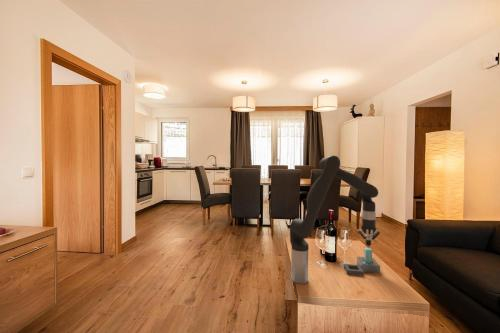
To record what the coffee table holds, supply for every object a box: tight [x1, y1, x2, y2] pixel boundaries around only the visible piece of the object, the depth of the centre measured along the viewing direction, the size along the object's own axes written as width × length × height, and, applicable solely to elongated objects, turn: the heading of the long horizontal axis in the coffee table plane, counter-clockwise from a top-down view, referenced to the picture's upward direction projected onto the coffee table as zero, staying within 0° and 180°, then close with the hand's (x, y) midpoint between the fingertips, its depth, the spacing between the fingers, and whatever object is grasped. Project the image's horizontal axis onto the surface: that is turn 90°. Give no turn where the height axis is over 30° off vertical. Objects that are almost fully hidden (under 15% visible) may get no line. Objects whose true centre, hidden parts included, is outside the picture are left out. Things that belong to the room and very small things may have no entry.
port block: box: [356, 256, 381, 274], centre depth 149 cm, size 12×10×5 cm
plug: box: [363, 247, 373, 263], centre depth 149 cm, size 4×4×12 cm
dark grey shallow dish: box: [343, 263, 365, 277], centre depth 144 cm, size 9×9×2 cm
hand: (368, 245), depth 149 cm, fingers closed
